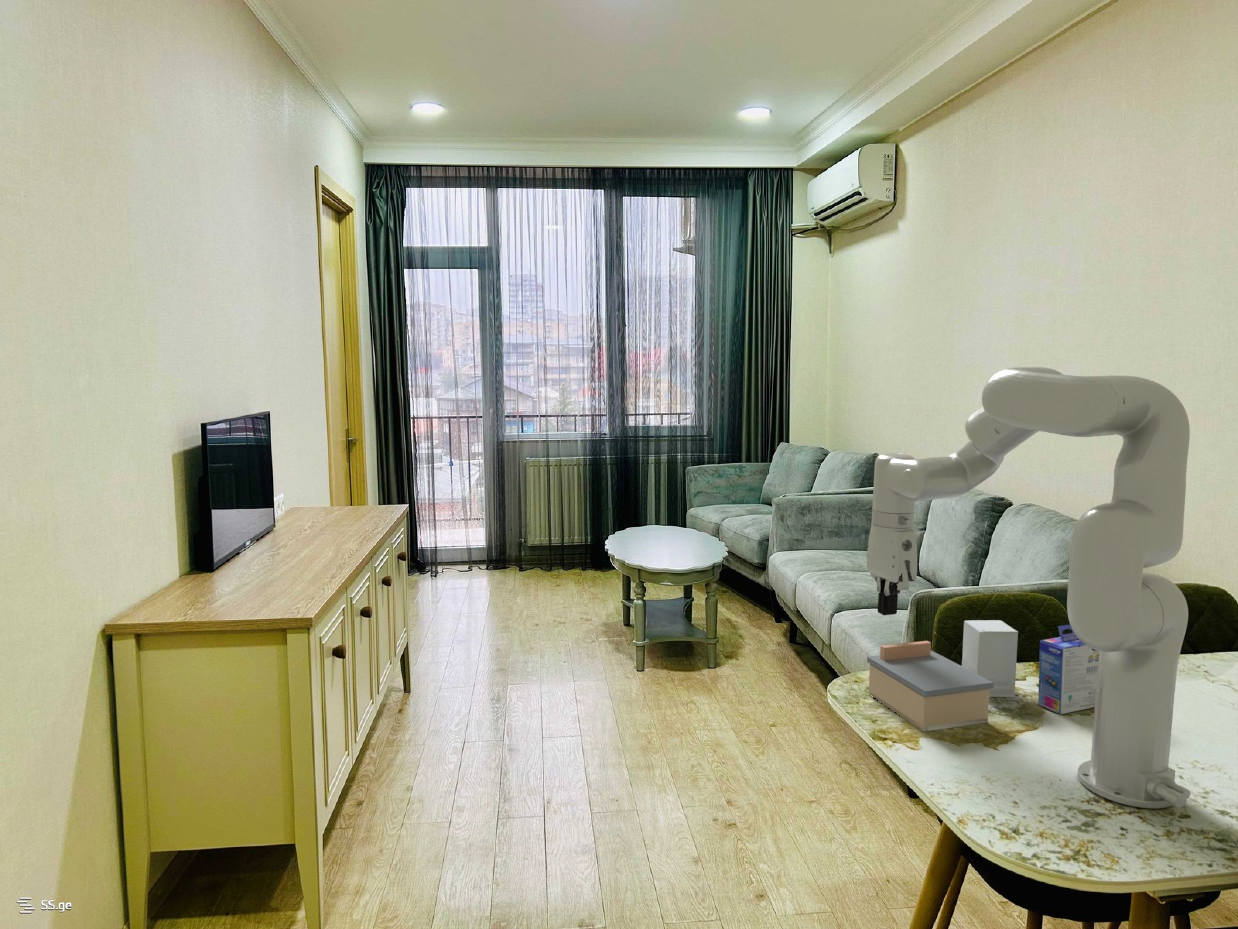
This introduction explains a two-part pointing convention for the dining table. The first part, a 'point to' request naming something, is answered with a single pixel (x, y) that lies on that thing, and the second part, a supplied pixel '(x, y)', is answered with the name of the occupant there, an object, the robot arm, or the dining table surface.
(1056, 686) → the ink cartridge box
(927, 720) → the box
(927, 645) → the lid
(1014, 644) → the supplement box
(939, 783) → the dining table surface
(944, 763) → the dining table surface
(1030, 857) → the dining table surface
